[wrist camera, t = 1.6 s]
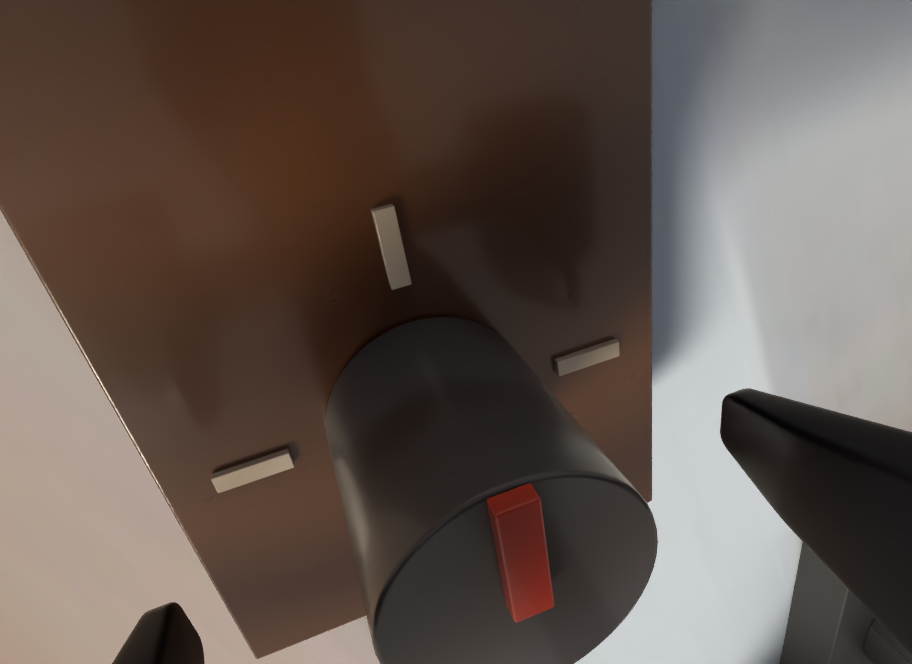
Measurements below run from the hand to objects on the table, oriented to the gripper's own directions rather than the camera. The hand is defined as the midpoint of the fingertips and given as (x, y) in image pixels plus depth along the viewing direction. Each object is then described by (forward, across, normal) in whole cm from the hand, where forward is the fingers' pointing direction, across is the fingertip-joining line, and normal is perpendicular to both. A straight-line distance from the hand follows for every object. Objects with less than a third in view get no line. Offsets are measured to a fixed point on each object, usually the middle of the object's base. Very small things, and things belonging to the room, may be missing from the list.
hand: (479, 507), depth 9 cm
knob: (+3, 0, 0) cm, 3 cm away
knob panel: (+6, 0, -2) cm, 6 cm away
